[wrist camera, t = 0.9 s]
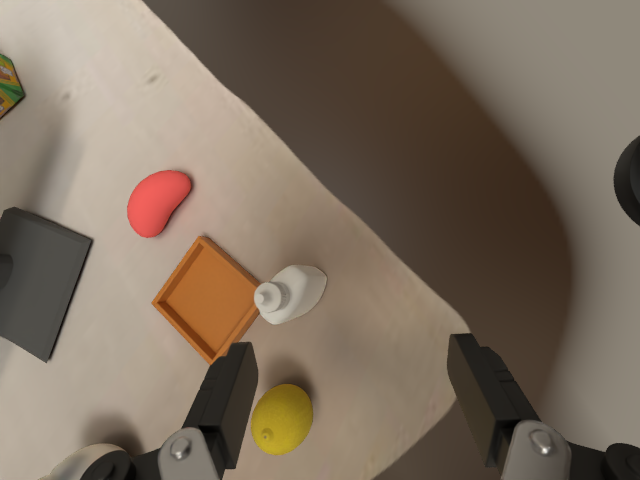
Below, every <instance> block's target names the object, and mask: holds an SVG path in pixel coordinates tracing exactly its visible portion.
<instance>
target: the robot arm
mask: <svg viewBox="0 0 640 480" xmlns="http://www.w3.org/2000/svg"><path fill="white" fill-rule="evenodd" d="M447 370H448V375H449V379H450V381H451V384H452V386H453V389H454V391H455V394H456V396H457V398H458V401H459V403H460V406H461V408H462V411H463V413H464V416H465V418H466V420H467V423H468V425H469V428H470V430H471V433H472V435H473V438H474V440H475V443H476V445H477V447H478V450H479V452H480V455H481V457H482V460H483V462H484V465H485V467H497V468H498V471H499V473H500V475H501V480H640V448H638V447H635V446H632V445H629V444H623V443H615V444H612V445H610V446H609V447H608V448H607V450H606V452H602V451H598V450H595V449H591V448H587V447H584V446H580V445H576V444H573V443H570V442H568V441H566V440H565V439H564V438H563V437H562V436H561V435H560V434H559V433H558V432H557V431H556V430H555V429H553V428H551V427H550V426H548V425H546V424H544V423H542V421H541V420H540V419H539V417H538V415H537V414H536V412H535V411H534V409H533V408H532V406H531V404H530V403H529V401H528V400H527V398H526V397H525V395H524V393H523V392H522V390H521V389H520V387H519V386H518V384H517V382H516V381H514V378H513V376H512V375H511V373H510V371H508V368H507V367H506V365H505V364H504V362H503V360H502V359H501V357H500V356H499V355H498V354H496V353H495V352H494V351H493V350H491V349H490V348H489V347H480V346H479V344H478V343H477V341H476V339H475V338H474V336H473V335H472V334H471V333H466V334H451V335H450V338H449V348H448V357H447ZM257 384H258V367H257V363H256V359H255V354H254V350H253V346H252V343H251V342H237V343H232V344H231V346H230V348H229V350H228V353H227V355H226V356H219V357H218V358H217V359H216V360H215V361H214V362H213V364H212V365H211V366H210V367H209V369H208V371H207V373H206V376H205V378H204V380H203V382H202V384H201V387H200V390H199V391H198V393H197V395H196V398H195V400H194V402H193V404H192V406H191V409H190V411H189V413H188V415H187V417H186V420H185V422H184V424H183V426H182V428H181V430H179V431H177V432H175V433H174V434H172V435H171V436H170V437H169V438H168V439H167V440H166V441H165V442H164V443H163V445H162V447H161V448H159V449H156V450H154V451H151V452H148V453H145V454H142V455H139V456H136V457H133V458H130V456H129V454H128V453H127V452H125V451H123V450H115V451H111V452H109V453H106V454H104V455H103V456H101V457H100V458H98V459H97V460H96V461H94V462H93V463H92V464H91V465H90V466H89V467H88V468H87V469H86V471H85V472H84V474H83V475H82V477H81V478H80V480H222V478H223V474H224V471H225V469H235V468H236V464H237V460H238V457H239V453H240V449H241V445H242V441H243V438H244V434H245V430H246V426H247V422H248V418H249V415H250V411H251V407H252V403H253V399H254V396H255V392H256V388H257Z"/></svg>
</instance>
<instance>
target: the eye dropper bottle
mask: <svg viewBox="0 0 640 480" xmlns="http://www.w3.org/2000/svg"><path fill="white" fill-rule="evenodd" d="M326 282H327V276H326V275H325V274H324V273H323V272H322V271H320V270H319V269H318V268H316V267H314V266H305V265H290V266H288V267H286V268H284V269H283V270H281V271H280V272H279V273H278V274H276V275H275V276H274V277H273V278H272V280H271V281H270V282H265V283H263V284H260V285H259V286H258V287H257V289H256V291H255V293H254V301H255V304H256V307H257V308H258V309H259V311H260V314H261V316H262V317H263V318H264V319H266V320H267V321H268V322H269V323H271V324H273V325H278V324H281V323H284V322H287V321H289V320H292V319H295V318H297V317H300V316H302V315H304V314H305V313H307V312H308V311H310V310H311V309H312V308H313V307H314V306H315V305H316V304H317V302H318V301H319V300H320V298H321V296H322V294H323V292H324V289H325V286H326Z"/></svg>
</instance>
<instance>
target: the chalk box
mask: <svg viewBox="0 0 640 480" xmlns="http://www.w3.org/2000/svg"><path fill="white" fill-rule="evenodd" d="M23 96H24V94H23V92H22V89H21V87H20V84H19V81H18V79H17V76H16V73H15V71H14V68H13V65H12V63H11V60H10V59H9V58H7V57H5V56H4V55H2V54H0V118H1V117H2V116H3V115H4V114H5V113H6V112H7V111H8V110H9V109H10V108H11V107H12V106H13V105H14V104H15V103H16V102H17V101H18V100H19V99H20V98H21V97H23Z"/></svg>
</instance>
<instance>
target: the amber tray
mask: <svg viewBox="0 0 640 480" xmlns="http://www.w3.org/2000/svg"><path fill="white" fill-rule="evenodd" d="M259 285H260V283H259V282H258V281H257V280H256V279H255V278H254V277H252V276H251V275H250V274H249V273H248V272H247V271H246V270H245V269H243V268H242V267H241V266H240V265H239V264H238V263H237V262H235V261H234V260H233V259H232V258H231V257H230V256H229V255H228V254H226V253H225V252H224V251H223V250H222V249H221V248H220V247H219V246H217V245H216V244H215V243H214V242H213V241H212V240H211V239H209V238H207V237H201V236H198V238H197V239H196V241H195V242H194V243H193V245H192V246H191V248H190V249H189V250H188V252H187V253H186V255H185V256H184V258H183V259H182V260H181V262H180V263H179V265H178V266H177V267H176V269H175V270H174V272H173V273H172V275H171V276H170V277H169V279H168V280H167V282H166V283H165V284H164V286H163V287H162V289H161V290H160V292H159V293H158V294H157V296H156V297H155V299H154V300H153V301H152V305H153V306H154V307H155V308H156V309H157V310H158V311H159V312H160V313H161V314H162V315H163V316H164V317H165V318H166V319H167V320H168V321H169V322H170V324H171V325H172V326H173V327H174V328H175V329H176V330H177V331H178V332H179V333H180V334H181V335H182V336H183V337H184V338H185V339H186V340H187V341H188V342H189V343H190V345H191V346H192V347H193V348H194V349H195V350H196V351H197V352H198V353H199V354H200V355H201V356H202V357H203V358H204V359H205V360H206V361H207V362H208V363H209V365H210V366H211V365H212V364H213V362H214V361H215V360H216V359H217V358H218V357H219V356H226V355H227V353H228V350H229V348H230V346H231V344H232V343H237V342H239V340H240V339H241V338H242V336H243V335H244V333H245V332H246V331H247V329H248V328H249V327H250V325H251V324H252V323H253V321H254V320H255V319H256V317H257V316H258V315H259V313H260V311H259V309H258V308H257V307H256V304H255V301H254V293H255V291H256V289H257V287H258V286H259Z"/></svg>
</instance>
